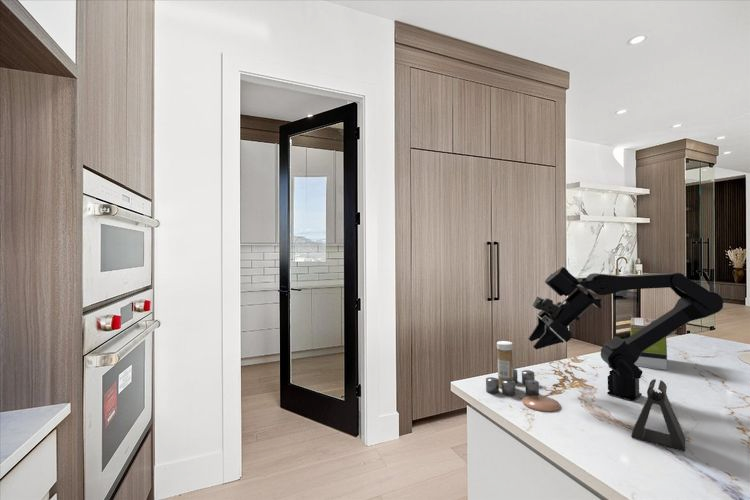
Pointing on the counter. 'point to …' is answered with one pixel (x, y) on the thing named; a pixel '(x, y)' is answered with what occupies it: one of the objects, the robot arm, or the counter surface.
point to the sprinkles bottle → (505, 361)
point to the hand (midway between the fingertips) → (532, 344)
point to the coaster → (541, 403)
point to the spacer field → (509, 385)
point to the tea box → (653, 354)
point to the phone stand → (675, 432)
